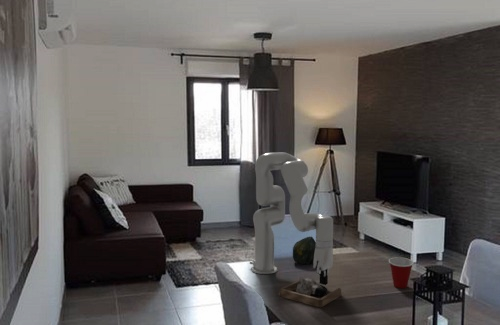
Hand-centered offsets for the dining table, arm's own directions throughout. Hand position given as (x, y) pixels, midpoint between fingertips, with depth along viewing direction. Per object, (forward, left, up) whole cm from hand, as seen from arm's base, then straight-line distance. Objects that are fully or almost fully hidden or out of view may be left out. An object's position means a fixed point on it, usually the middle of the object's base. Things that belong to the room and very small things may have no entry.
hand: (323, 283), depth 207 cm
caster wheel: (0, -9, -2) cm, 9 cm away
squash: (-27, +29, -2) cm, 40 cm away
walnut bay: (0, -11, -2) cm, 11 cm away
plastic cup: (+26, +24, -2) cm, 35 cm away
